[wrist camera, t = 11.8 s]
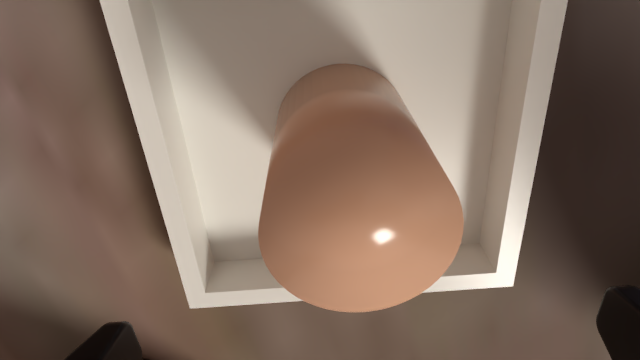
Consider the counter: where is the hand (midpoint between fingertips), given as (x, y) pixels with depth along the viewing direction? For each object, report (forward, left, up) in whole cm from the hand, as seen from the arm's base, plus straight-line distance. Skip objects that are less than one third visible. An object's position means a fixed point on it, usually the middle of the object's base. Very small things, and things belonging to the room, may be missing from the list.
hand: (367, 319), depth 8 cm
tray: (0, 0, -10) cm, 10 cm away
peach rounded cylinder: (0, 0, -10) cm, 10 cm away
